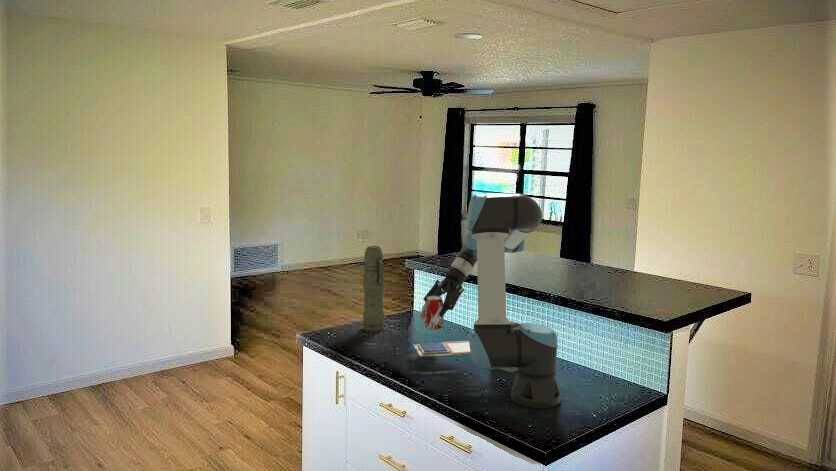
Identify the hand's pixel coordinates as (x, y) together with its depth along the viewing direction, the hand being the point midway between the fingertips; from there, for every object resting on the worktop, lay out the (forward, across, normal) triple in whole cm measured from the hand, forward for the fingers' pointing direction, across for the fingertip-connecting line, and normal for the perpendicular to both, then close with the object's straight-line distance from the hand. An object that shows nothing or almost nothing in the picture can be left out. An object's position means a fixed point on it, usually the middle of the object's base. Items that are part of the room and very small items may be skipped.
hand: (427, 320), depth 233 cm
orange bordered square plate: (-1, -6, -18) cm, 19 cm away
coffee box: (+1, -29, -18) cm, 34 cm away
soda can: (0, 0, -5) cm, 5 cm away
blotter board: (+2, -3, -16) cm, 16 cm away
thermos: (+6, +37, -11) cm, 39 cm away
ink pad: (+6, 0, -11) cm, 12 cm away
